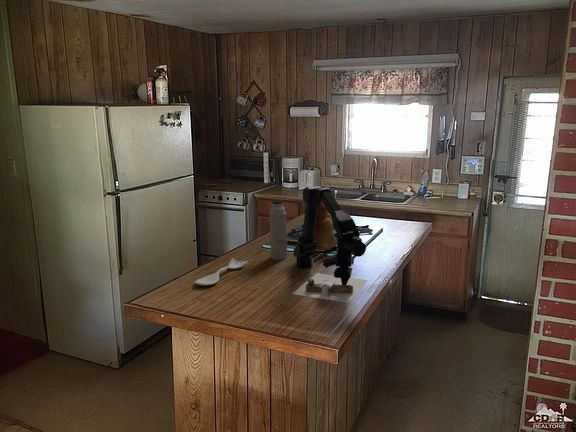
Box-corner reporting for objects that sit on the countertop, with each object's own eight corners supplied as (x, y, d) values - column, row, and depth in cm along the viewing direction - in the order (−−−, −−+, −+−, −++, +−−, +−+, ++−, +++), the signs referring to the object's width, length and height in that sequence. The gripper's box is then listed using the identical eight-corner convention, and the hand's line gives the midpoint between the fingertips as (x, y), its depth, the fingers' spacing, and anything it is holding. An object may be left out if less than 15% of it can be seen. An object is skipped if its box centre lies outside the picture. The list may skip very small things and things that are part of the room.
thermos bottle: (274, 254, 243) (272, 199, 236) (289, 255, 240) (287, 199, 234) (268, 259, 236) (266, 202, 229) (284, 260, 233) (282, 203, 226)
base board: (292, 295, 191) (292, 293, 191) (316, 274, 213) (316, 273, 212) (348, 304, 181) (348, 302, 181) (367, 282, 203) (367, 280, 203)
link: (304, 291, 192) (304, 286, 191) (306, 287, 196) (306, 282, 195) (352, 293, 188) (352, 288, 188) (353, 289, 192) (353, 284, 192)
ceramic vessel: (343, 246, 252) (343, 189, 245) (322, 258, 235) (322, 197, 228) (316, 242, 261) (315, 187, 254) (295, 253, 243) (293, 194, 236)
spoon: (249, 266, 226) (249, 259, 226) (208, 290, 199) (207, 282, 198) (233, 264, 231) (232, 257, 230) (190, 287, 203) (190, 279, 202)
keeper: (317, 294, 189) (317, 286, 188) (325, 287, 196) (324, 279, 195) (330, 296, 187) (330, 287, 186) (337, 289, 194) (337, 281, 193)
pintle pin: (307, 284, 192) (307, 280, 192) (309, 282, 194) (309, 278, 194) (312, 285, 191) (312, 281, 191) (315, 283, 193) (315, 279, 193)
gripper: (326, 241, 200) (326, 277, 204) (320, 256, 182) (320, 295, 186) (354, 242, 198) (353, 278, 202) (350, 257, 180) (350, 296, 184)
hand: (344, 287), depth 193 cm, fingers closed
